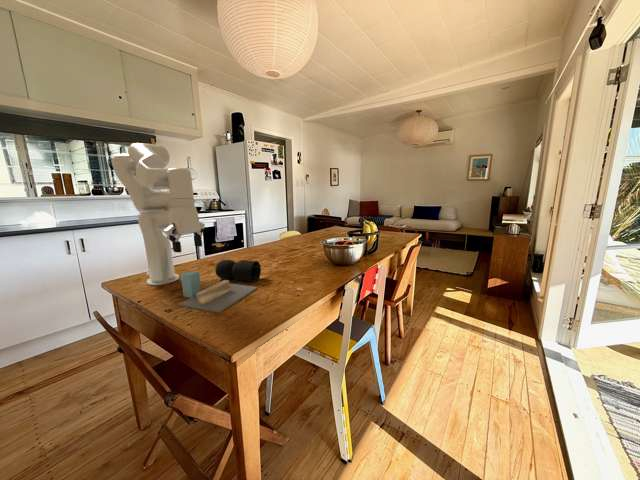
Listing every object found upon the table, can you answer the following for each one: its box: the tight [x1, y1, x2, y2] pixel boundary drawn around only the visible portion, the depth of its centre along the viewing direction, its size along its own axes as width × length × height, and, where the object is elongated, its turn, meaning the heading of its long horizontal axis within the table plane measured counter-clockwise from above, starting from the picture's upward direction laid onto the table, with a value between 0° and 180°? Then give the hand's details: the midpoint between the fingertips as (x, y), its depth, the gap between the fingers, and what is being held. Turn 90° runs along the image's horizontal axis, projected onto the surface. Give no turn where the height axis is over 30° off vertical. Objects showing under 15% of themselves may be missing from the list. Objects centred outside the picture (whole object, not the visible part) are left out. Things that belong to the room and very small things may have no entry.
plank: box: [196, 279, 231, 305], centre depth 95 cm, size 2×14×4 cm, turn 160°
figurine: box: [215, 259, 262, 283], centre depth 114 cm, size 9×9×20 cm
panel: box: [178, 283, 259, 314], centre depth 97 cm, size 18×22×1 cm
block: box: [180, 270, 202, 298], centre depth 98 cm, size 4×4×9 cm
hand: (188, 249), depth 95 cm, fingers open, 9 cm apart
